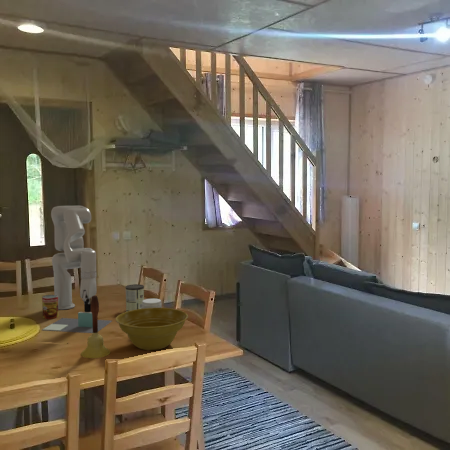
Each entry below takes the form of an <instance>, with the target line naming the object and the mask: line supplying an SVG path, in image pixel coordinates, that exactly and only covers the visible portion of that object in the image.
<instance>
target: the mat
mask: <svg viewBox="0 0 450 450" xmlns="http://www.w3.org/2000/svg"><path fill="white" fill-rule="evenodd" d="M112 322H113V320H109V319H108V320H107V319H106V320H105V319H98V332H100V331H101V330H102V329H104V328H105V327H106V326H108V325H109V324H111V323H112ZM52 324H60V325H68V326H67V327H66V328H64V329H62V330H61V331H60V332H63V333H78V334H79V333H81V334H82V333H83V334H85V333H86V334H92V333H93V327H78V318H67V317H65V318H64V317H61V318H59V319H58V320H56V321H55V322H53V323H52ZM42 331H47V332H52V331H51V330H43V329H42Z"/></svg>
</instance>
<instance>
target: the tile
mask: <svg viewBox="0 0 450 450" xmlns="http://www.w3.org/2000/svg"><path fill="white" fill-rule="evenodd" d="M77 319H78V327H93V320H92V313H91V312H85V311H79V312H77Z"/></svg>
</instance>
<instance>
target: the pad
mask: <svg viewBox="0 0 450 450" xmlns="http://www.w3.org/2000/svg"><path fill="white" fill-rule="evenodd" d="M67 326H68V325H60V324H53V323H50V324H49V325H48V326H46V327H44V328H42V331H43V330H51V331H50V332H61V330H62V329H64V328H66V327H67Z"/></svg>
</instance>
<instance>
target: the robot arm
mask: <svg viewBox="0 0 450 450" xmlns="http://www.w3.org/2000/svg"><path fill="white" fill-rule="evenodd" d="M50 217H51V220H52V223H53V227H54V248H55V250H56V251H59V252H58V253H55V254H54V255H53V256H52V257H51V263H52V270H53V282H54V283H53V287H54V291H53V292H54V294H53V295H58V311H59V310H60V311H63V310H70V309H73V308H75V306H76V305H75V303H73V296H72V295H73V290H72V285H73V284H72V276H71V275H72V274H70V273H69V272H68V270H71V269H80V279H81V280H80V288H79V289H80V292H79V293H80V298H81V299H82V301H83V304H84V307H83V308H84V309H83V310H84V311H83V312H91V304H90V298H91V297H92V296H97V252H96V250H95V249H92V248H91V247H84V246H85V244H84V237H83V236H84V235H85V233H86V230H85V227H84V224H89V223H91V221H92V213H91V210H90V209H89V208H87V207H86V206H83V205H57V206H54V207H52V209H51V213H50ZM86 297H88V298H86ZM87 299H88V300H87Z"/></svg>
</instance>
